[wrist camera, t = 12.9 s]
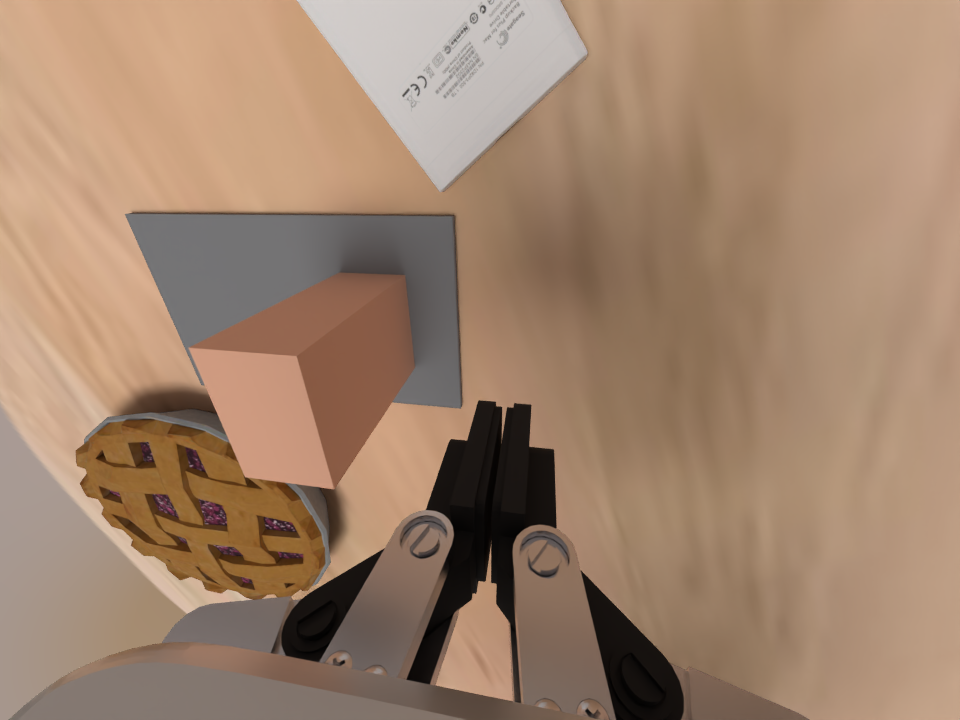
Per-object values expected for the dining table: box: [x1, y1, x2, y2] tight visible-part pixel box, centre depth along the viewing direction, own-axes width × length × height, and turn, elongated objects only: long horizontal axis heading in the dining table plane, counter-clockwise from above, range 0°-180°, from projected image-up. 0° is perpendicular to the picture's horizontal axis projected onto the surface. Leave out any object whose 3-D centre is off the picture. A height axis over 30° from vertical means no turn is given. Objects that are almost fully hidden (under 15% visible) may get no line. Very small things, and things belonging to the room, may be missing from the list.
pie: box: [76, 409, 331, 600], centre depth 31 cm, size 22×22×5 cm
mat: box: [125, 213, 462, 408], centre depth 23 cm, size 20×12×1 cm, turn 91°
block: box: [189, 273, 415, 489], centre depth 17 cm, size 4×6×10 cm, turn 0°
